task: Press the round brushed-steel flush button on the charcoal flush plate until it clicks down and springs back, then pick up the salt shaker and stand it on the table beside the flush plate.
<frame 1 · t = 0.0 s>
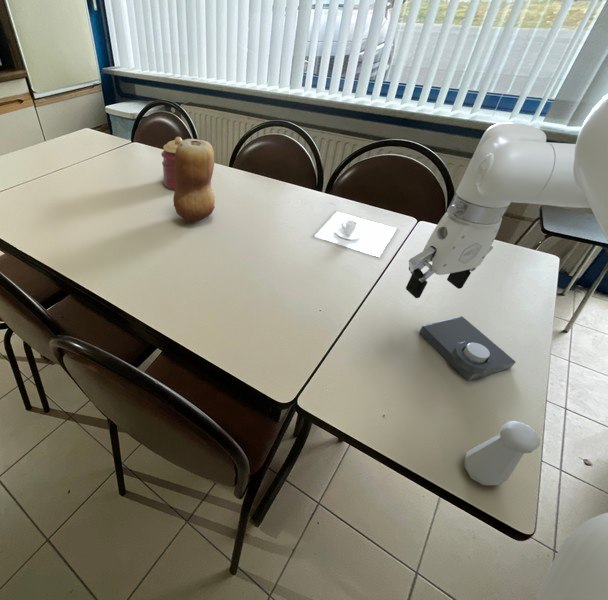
hand: (433, 288, 71), 16 cm above the table, tool pointing down, fingers open, 9 cm apart
butternut squash: (194, 219, 122), on the table
flush button: (476, 352, 73), point 4 cm above the table, slide at 0.1 cm
salt shaker: (478, 472, 60), on the table
flush plate: (462, 349, 79), on the table
kitchen canister: (180, 184, 143), on the table
teacup and saucer: (355, 232, 116), on the table
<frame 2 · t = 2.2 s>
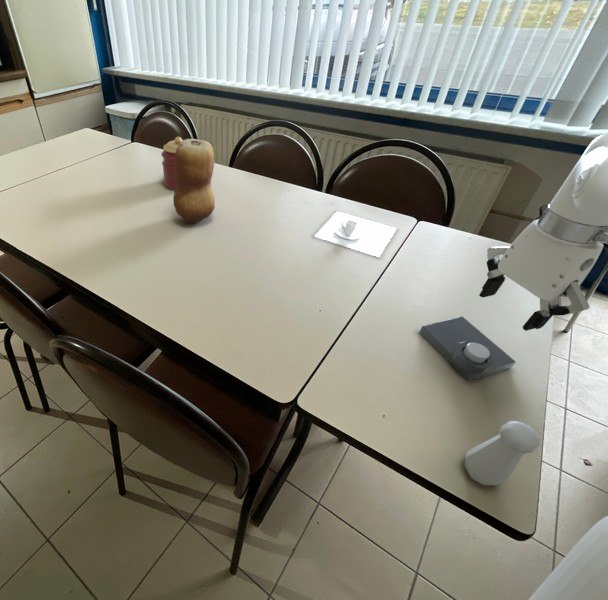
hand: (507, 310, 65), 16 cm above the table, tool pointing down, fingers open, 8 cm apart
nothing on the table moved.
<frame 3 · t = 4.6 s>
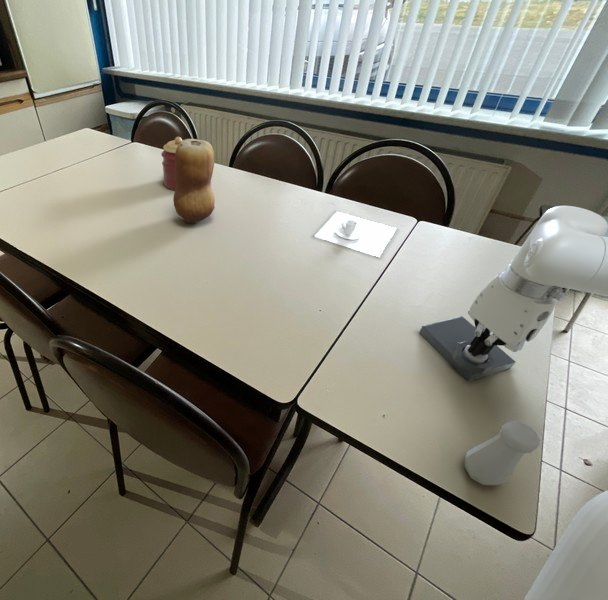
hand: (476, 352, 73), 5 cm above the table, tool pointing down, fingers closed
flush button: (474, 355, 73), point 4 cm above the table, slide at -0.7 cm, touching gripper
everything else where it was.
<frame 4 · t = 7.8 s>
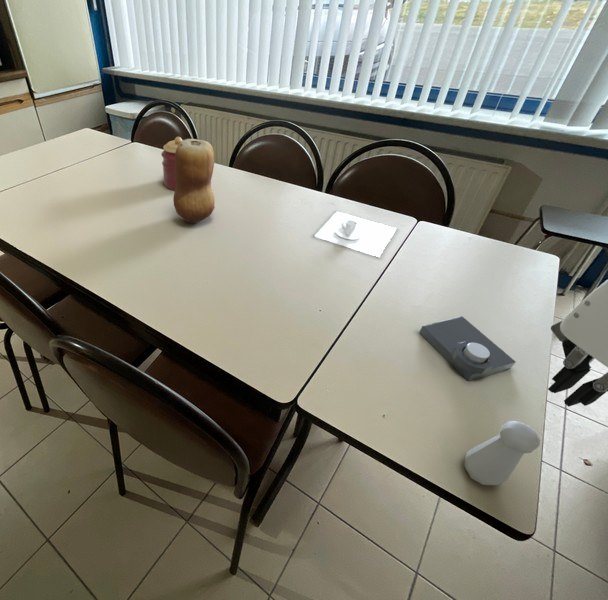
hand: (566, 394, 45), 22 cm above the table, tool pointing down, fingers closed
flush button: (476, 352, 73), point 4 cm above the table, slide at 0.1 cm
everything else where it was.
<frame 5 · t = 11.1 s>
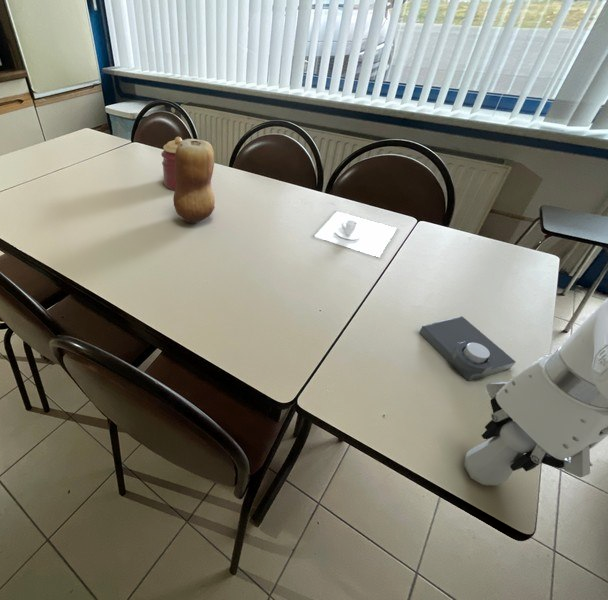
hand: (504, 449, 55), 8 cm above the table, tool pointing down, fingers closed on salt shaker, 4 cm apart
salt shaker: (478, 472, 60), on the table, touching gripper
everything else where it was.
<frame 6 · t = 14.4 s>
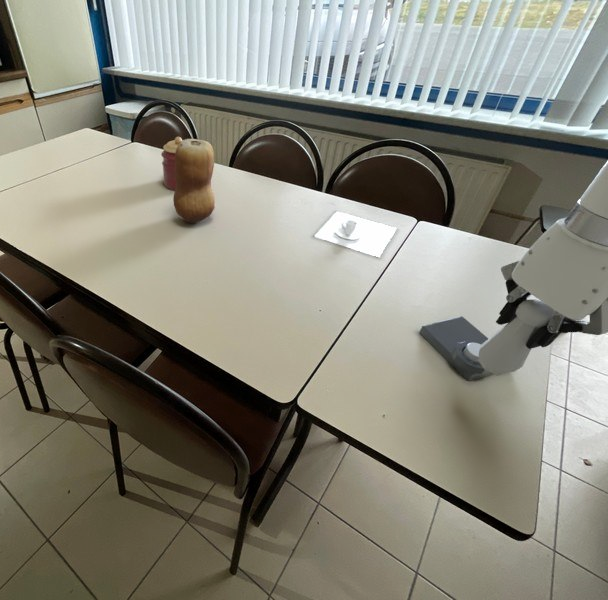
hand: (519, 332, 54), 21 cm above the table, tool pointing down, fingers closed on salt shaker, 4 cm apart
salt shaker: (492, 365, 60), point 13 cm above the table, touching gripper
everything else where it was.
when the fingers open (8 cm above the table, at t = 17.7 s): salt shaker stays where it is, on the table.
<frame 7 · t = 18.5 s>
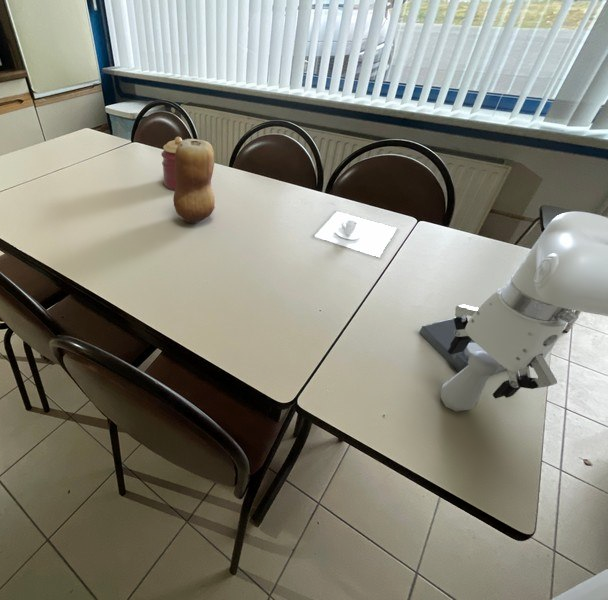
hand: (476, 372, 63), 9 cm above the table, tool pointing down, fingers open, 9 cm apart
salt shaker: (452, 402, 70), on the table
everything else where it was.
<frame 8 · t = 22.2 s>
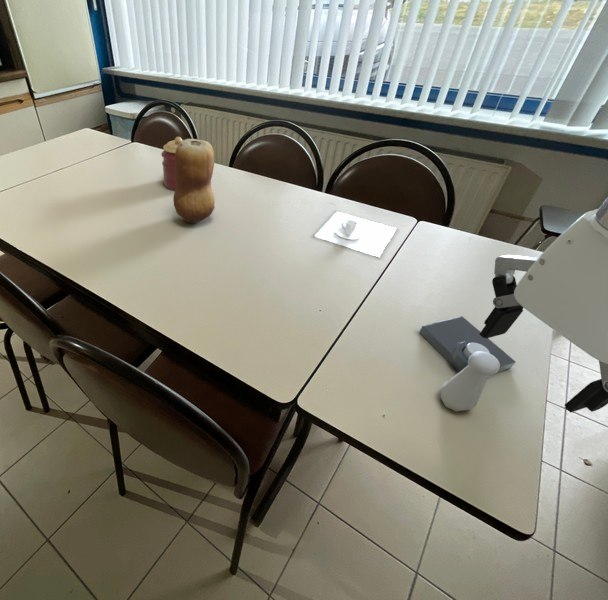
hand: (530, 367, 38), 30 cm above the table, tool pointing down, fingers open, 9 cm apart
nothing on the table moved.
at the end: flush button pushed in 1.0 cm at the most during the clip, back to where it started at the end; flush button slide at 0.1 cm; salt shaker 0.1 cm from the target spot on the table beside the flush plate, on the table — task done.
